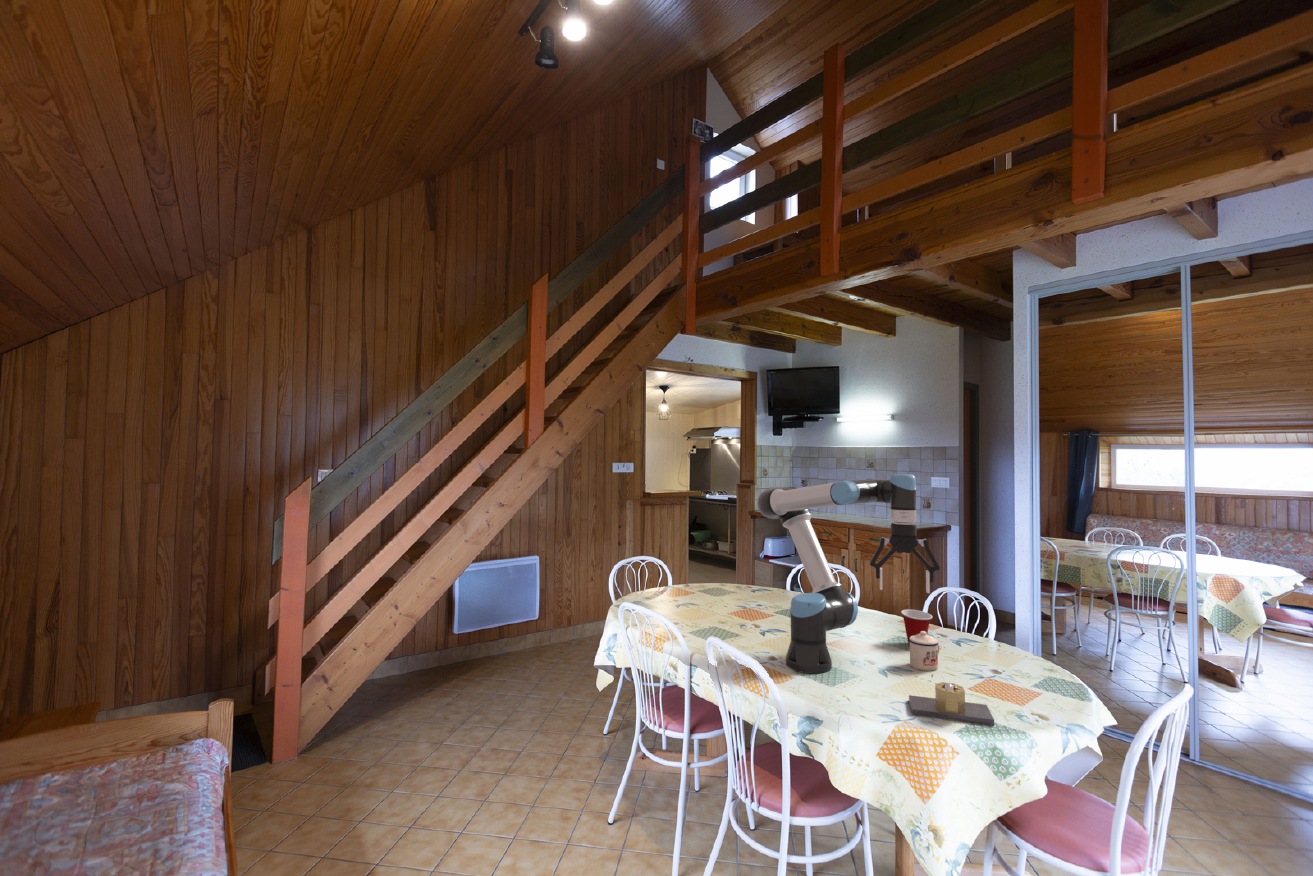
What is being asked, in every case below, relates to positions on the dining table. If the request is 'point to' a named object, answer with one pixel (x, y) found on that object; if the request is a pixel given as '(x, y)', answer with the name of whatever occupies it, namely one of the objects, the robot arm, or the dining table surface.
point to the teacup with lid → (924, 652)
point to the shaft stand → (929, 709)
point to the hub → (950, 698)
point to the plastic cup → (916, 622)
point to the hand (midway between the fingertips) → (904, 590)
